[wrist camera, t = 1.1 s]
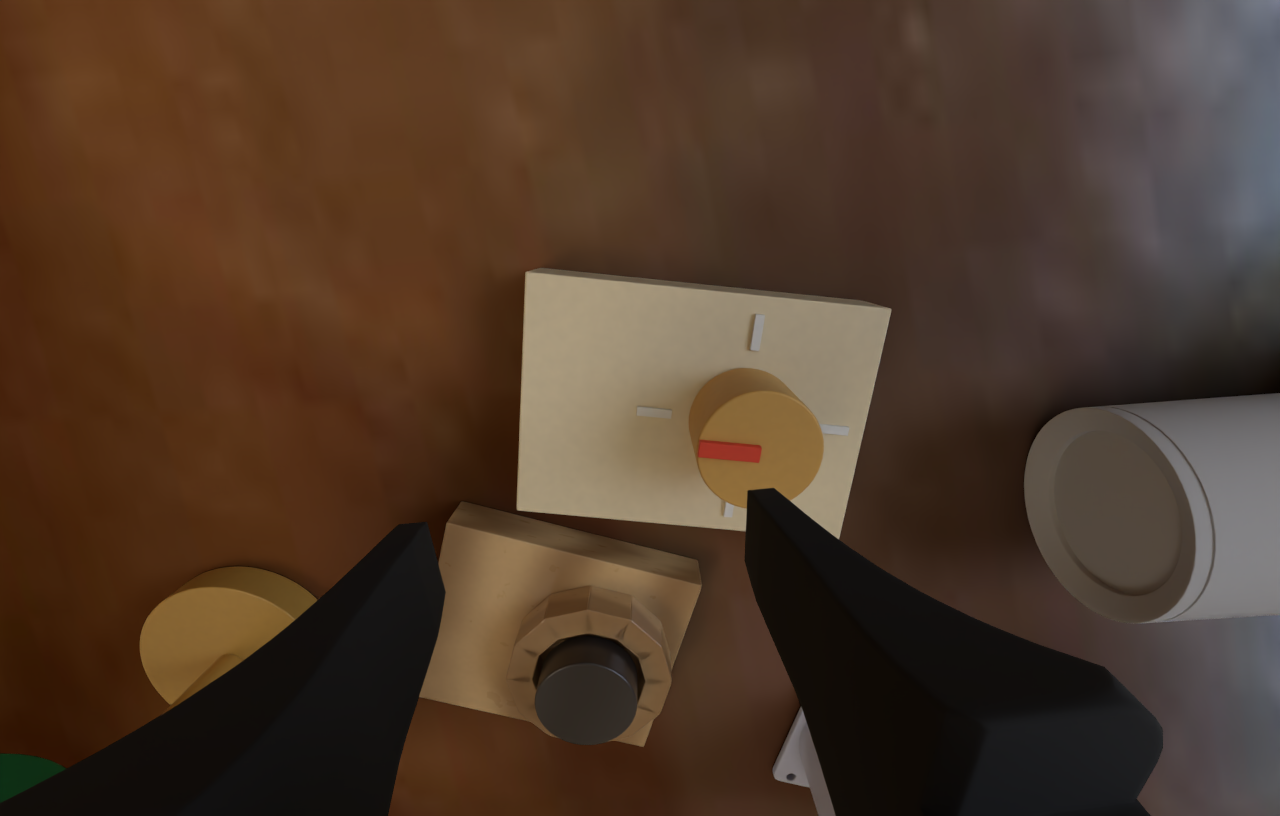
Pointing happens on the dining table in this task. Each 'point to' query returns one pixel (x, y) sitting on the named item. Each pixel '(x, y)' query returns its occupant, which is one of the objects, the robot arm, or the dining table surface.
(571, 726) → the button
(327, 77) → the dining table surface
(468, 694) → the switch box
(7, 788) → the bracelet display stand
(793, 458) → the dimmer knob
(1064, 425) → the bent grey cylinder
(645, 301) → the dimmer panel
